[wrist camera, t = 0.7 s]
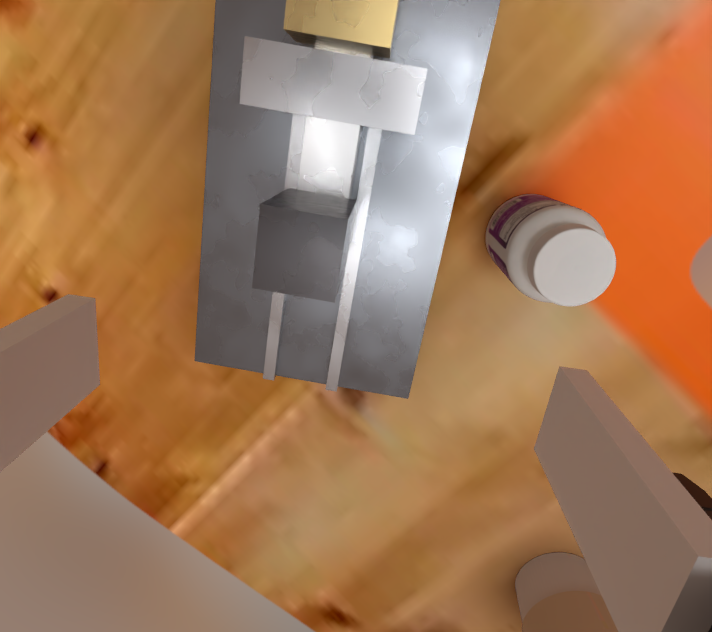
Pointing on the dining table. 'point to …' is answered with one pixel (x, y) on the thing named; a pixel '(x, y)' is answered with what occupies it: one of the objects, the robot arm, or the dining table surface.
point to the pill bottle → (550, 250)
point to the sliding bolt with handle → (311, 215)
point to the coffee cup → (561, 596)
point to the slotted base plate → (370, 188)
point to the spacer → (343, 24)
